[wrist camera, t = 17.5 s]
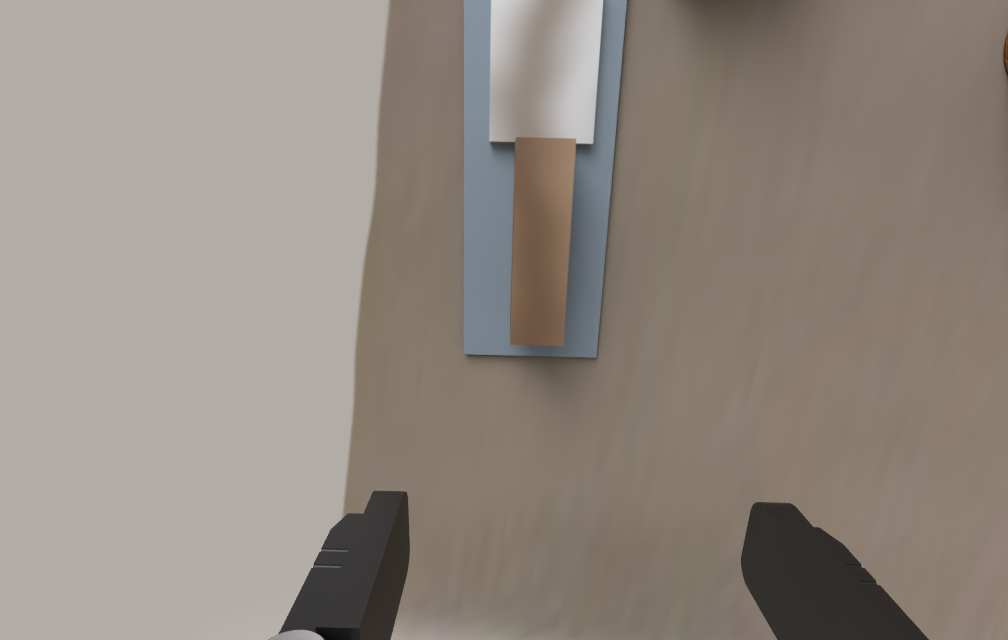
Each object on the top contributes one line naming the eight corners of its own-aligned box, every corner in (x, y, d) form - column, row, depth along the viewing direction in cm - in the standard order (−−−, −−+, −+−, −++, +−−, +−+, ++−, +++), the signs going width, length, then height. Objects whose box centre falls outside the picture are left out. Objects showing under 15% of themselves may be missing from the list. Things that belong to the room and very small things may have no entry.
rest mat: (626, -15, 27) (628, -18, 27) (594, 354, 34) (596, 357, 33) (464, -19, 27) (464, -23, 27) (464, 351, 34) (463, 354, 33)
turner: (601, -10, 27) (621, -50, 22) (577, 320, 32) (589, 346, 28) (491, -13, 27) (488, -53, 22) (487, 318, 32) (483, 344, 28)
